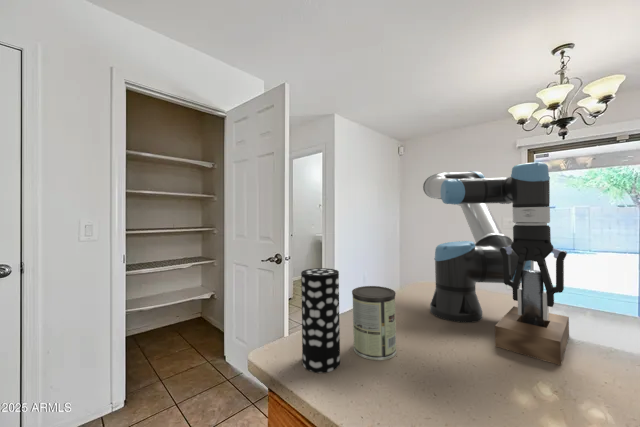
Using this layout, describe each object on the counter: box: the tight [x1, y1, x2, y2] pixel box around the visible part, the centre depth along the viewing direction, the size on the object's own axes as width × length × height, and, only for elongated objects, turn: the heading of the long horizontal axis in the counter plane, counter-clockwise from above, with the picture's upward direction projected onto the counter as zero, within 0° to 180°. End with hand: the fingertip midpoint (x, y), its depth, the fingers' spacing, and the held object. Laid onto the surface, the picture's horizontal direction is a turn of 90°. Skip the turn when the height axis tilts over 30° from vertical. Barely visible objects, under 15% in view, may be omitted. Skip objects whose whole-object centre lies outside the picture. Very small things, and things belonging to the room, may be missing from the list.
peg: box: [521, 269, 545, 327], centre depth 69 cm, size 4×4×14 cm
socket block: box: [494, 305, 570, 366], centre depth 69 cm, size 12×20×5 cm, turn 134°
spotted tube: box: [300, 267, 341, 374], centre depth 60 cm, size 8×8×20 cm
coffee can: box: [351, 285, 397, 361], centre depth 65 cm, size 10×10×14 cm
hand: (533, 316), depth 69 cm, fingers closed on peg, 4 cm apart
